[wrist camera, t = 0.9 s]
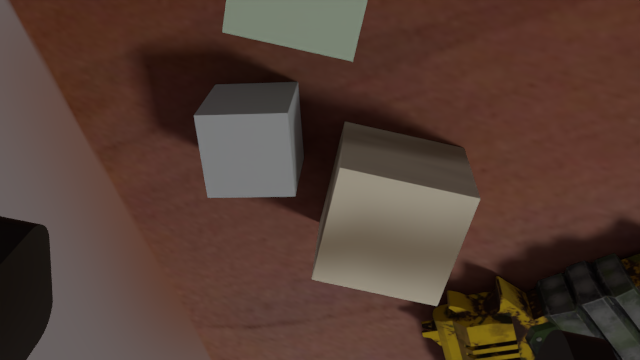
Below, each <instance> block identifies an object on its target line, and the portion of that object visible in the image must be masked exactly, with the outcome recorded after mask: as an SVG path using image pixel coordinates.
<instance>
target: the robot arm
mask: <svg viewBox="0 0 640 360" xmlns="http://www.w3.org/2000/svg"><path fill="white" fill-rule="evenodd" d="M52 302H53V301H52V279H51V261H50V243H49V234H48V230H47V228H46V227H45V226H44V225H40V224H36V223H31V222H26V221H21V220H15V219H11V218H6V217H1V216H0V360H26V359H27V358H28V356H29V355H30V353H31V352H32V350H33V349H34V348H35V345H37V343H38V342H39V340H40V338H41V337H42V335H43V333H44V331H45V329H46V327H47V324H48V321H49V318H50V314H51V309H52ZM535 360H617V358H616V356H615V354H614V352H613V349H612V348H611V346H610V344H609V343H608V342H607V341H606V340H604V339H602V338H597V337H592V336H587V335H582V334H577V333H572V332H567V331H562V330H553V331H551V332H550V333H549V334H548V335H547V337H546V339H545V340H544V342H543V344H542V346H541V348H540V350H539V352H538V354H537V356H536V358H535Z"/></svg>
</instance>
